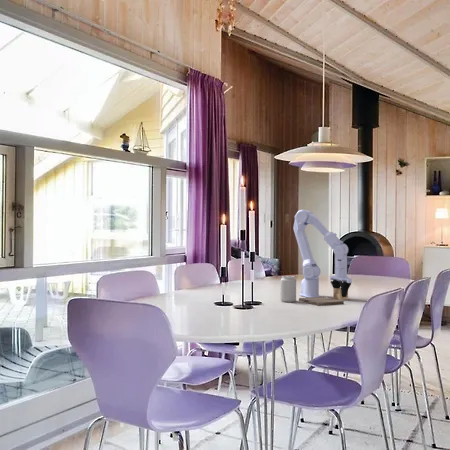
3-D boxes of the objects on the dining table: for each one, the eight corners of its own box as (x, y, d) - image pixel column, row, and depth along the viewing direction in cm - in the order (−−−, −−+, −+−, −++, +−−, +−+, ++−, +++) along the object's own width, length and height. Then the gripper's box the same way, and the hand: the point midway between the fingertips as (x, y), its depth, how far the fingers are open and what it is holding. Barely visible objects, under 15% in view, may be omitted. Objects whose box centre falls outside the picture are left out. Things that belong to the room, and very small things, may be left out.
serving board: (298, 300, 238) (299, 298, 238) (323, 298, 244) (323, 296, 244) (318, 305, 223) (318, 303, 223) (343, 303, 229) (343, 301, 229)
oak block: (333, 298, 245) (333, 288, 245) (341, 298, 247) (341, 288, 247) (339, 300, 241) (339, 289, 241) (347, 299, 243) (348, 289, 243)
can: (283, 302, 231) (284, 277, 231) (277, 300, 238) (278, 275, 238) (298, 302, 233) (298, 276, 233) (292, 299, 240) (292, 275, 240)
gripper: (356, 269, 239) (356, 297, 239) (338, 267, 252) (338, 293, 252) (344, 270, 236) (344, 298, 236) (327, 267, 250) (326, 294, 250)
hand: (340, 296), depth 244 cm, fingers closed on oak block, 5 cm apart
